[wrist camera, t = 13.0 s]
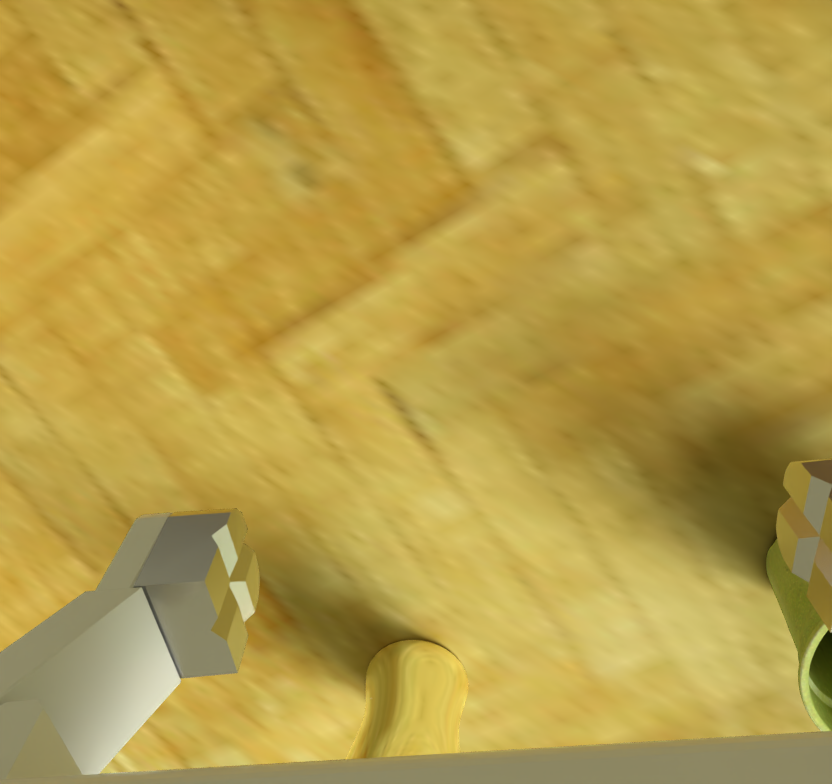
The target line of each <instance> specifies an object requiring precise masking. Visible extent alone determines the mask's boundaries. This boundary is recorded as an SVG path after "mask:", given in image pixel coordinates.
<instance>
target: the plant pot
mask: <svg viewBox="0 0 832 784" xmlns="http://www.w3.org/2000/svg"><path fill="white" fill-rule="evenodd" d="M766 570H767V575H768V578H769V580H770V583H771V585H772V588H773V591H774V593H775V596H776V598H777V600H778V603H779V605H780V608H781V610H782V613H783V615H784V618H785V620H786V622H787V625H788V628H789V631H790V633H791V635H792V638H793V641H794V643H795V645H796V648H797V651H798V659H799V670H798V682H799V690H800V694H801V698H802V701H803V703H804V706H805V708H806V710H807V712H808V714H809V716H810V718H811V719H812V721H813V722H814V723H815V725H816V726H817V727H818V728H819V729H820V731H832V633H830V632H829V630H828V628H827V627H826V625H825V624H824V622H823V621H822V619H821V618H820V616H819V615H818V613H817V611H816V610H815V608H814V607H813V605H812V604H811V602H810V601H809V599H808V598H807V591H808V586H809V582H807V581H805V580H804V579H802V578H800V577H798V576H797V575H795V574H793V573H792V572H791V571H790V569H789V567H788V566H787V564H786V563H785V561H784V559H783V557H782V554H781V551H780V549H779V546H778V540H777V539H776V541H775V542H774V544H773V545H772V546H771V547H770V548H769V550H768V553H767V558H766Z"/></svg>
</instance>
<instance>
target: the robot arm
mask: <svg viewBox="0 0 832 784" xmlns="http://www.w3.org/2000/svg"><path fill="white" fill-rule="evenodd" d="M783 486H784V488H785V489H786V490H787V492H788V493H789V495H790V496H791V497H790V498H789V499H788V500H787V501H786V502H785V503H784V504H783V505H782V506H781V507H780V508H779V509H778V514H777V522H776V533H777V540H778V546H779V549H780V551H781V554H782V557H783V559H784V561H785V563H786V564H787V566H788V567H789V569H790V571H791V572H792V573H793V574H795V575H797V576H798V577H800V578H802V579H804V580H805V581H807V582H809V586H808V591H807V598H808V599H809V601H810V602H811V604H812V605H813V607H814V608H815V610H816V611H817V613H818V615H819V616H820V618H821V619H822V621H823V622H824V624H825V625H826V627H827V628H828V630H829V632H830V633H832V458H830V459H819V460H807V461H796V462H790V464H789V466H788V467H787V469H786V471H785V475H784V480H783ZM247 529H248V528H247V526H246V523H245V520H244V517H243V514H242V512H241V511H239V510H238V509H237V508H232V509H216V510H200V511H184V512H174V513H158V514H145V515H142V516H140V517H139V518H137V519H136V520H135V521H134V523H133V525H132V527H131V528H130V530H129V532H128V534H127V535H126V537H125V539H124V541H123V542H122V544H121V546H120V548H119V550H118V551H117V553H116V555H115V557H114V558H113V560H112V562H111V564H110V566H109V567H108V569H107V571H106V573H105V574H104V576H103V578H102V580H101V581H100V583H99V585H98V587H97V589H96V590H95V591H87V592H84V593H83V594H81V595H80V596H79V597H77V598H76V599H74V600H73V601H72V602H70V603H69V604H67V605H66V606H65V607H63V608H62V609H60V610H59V611H58V612H56V613H55V614H53V615H52V616H51V617H49V618H48V619H46V620H45V621H44V622H42V623H41V624H39V625H38V626H36V627H35V628H34V629H32V630H31V631H29V632H28V633H27V634H25V635H24V636H22V637H21V638H20V639H18V640H17V641H15V642H14V643H13V644H11V645H10V646H8V647H7V648H6V649H4V650H3V651H1V652H0V784H832V731H821V732H804V733H786V734H769V735H752V736H735V737H717V738H700V739H683V740H666V741H648V742H632V743H615V744H598V745H581V746H564V747H547V748H530V749H513V750H496V751H479V752H462V753H445V754H428V755H411V756H394V757H377V758H360V759H343V760H326V761H309V762H292V763H275V764H258V765H241V766H224V767H207V768H190V769H173V770H156V771H139V772H122V773H105V774H99V773H100V772H101V771H102V770H103V769H104V767H105V766H106V765H107V764H108V763H109V762H110V761H111V760H112V759H113V757H114V756H115V755H116V754H117V753H118V752H119V751H120V750H121V748H122V747H123V746H124V745H125V744H126V743H127V742H128V741H129V739H130V738H131V737H132V736H133V735H134V734H135V733H136V732H137V731H138V729H139V728H140V727H141V726H142V725H143V724H144V723H145V722H146V720H147V719H148V718H149V717H150V716H151V715H152V714H153V713H154V712H155V710H156V709H157V708H158V707H159V706H160V705H161V704H162V703H163V701H164V700H165V699H166V698H167V697H168V696H169V695H170V694H171V692H172V691H173V690H174V689H175V688H176V687H177V686H178V685H179V684H180V682H181V679H180V678H190V677H201V676H211V675H221V674H232V673H238V670H239V667H240V663H241V660H242V656H243V653H244V649H245V646H246V642H247V639H248V633H247V630H246V627H245V624H244V622H245V621H246V620H247V619H248V618H249V617H250V616H251V615H253V614H254V613H255V610H256V606H257V602H258V598H259V585H260V575H259V568H258V562H257V558H256V555H255V551H254V550H252V549H251V548H250V547H249V546H247V545H246V544H245V543H243V542H244V539H245V536H246V533H247Z"/></svg>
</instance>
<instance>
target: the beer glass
mask: <svg viewBox="0 0 832 784" xmlns="http://www.w3.org/2000/svg"><path fill="white" fill-rule="evenodd" d="M468 687H469V685H468V678H467V674H466V672H465V669H464V667H463V666H462V664H461V663H460V661H459V660H458V659H457V658H456V657H455V656H454V655H453V654H452V653H451V652H449V651H448V650H447V649H445V648H443V647H441V646H439V645H437V644H435V643H432V642H428V641H423V640H403V641H398V642H395V643H392V644H390V645H388V646H386V647H384V648H383V649H381V650H380V651H379V652H378V653H377V654H376V655H375V656H374V657H373V659H372V660H371V662H370V664H369V666H368V669H367V673H366V680H365V695H366V705H365V712H364V717H363V720H362V723H361V726H360V728H359V730H358V733H357V735H356V737H355V739H354V741H353V743H352V745H351V748H350V750H349V752H348V754H347V756H346V758H345V759H360V758H377V757H394V756H411V755H428V754H445V753H461V752H460V745H459V724H460V719H461V715H462V712H463V709H464V706H465V703H466V699H467V695H468Z"/></svg>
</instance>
